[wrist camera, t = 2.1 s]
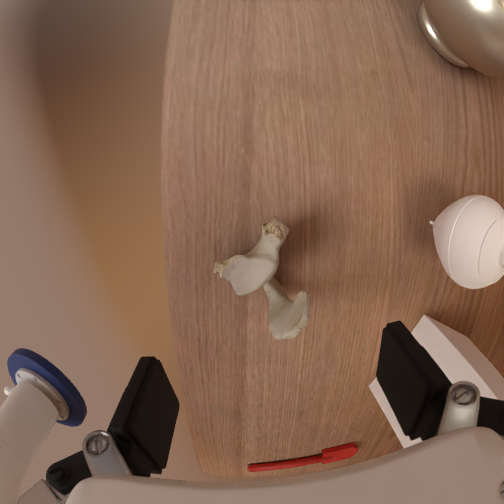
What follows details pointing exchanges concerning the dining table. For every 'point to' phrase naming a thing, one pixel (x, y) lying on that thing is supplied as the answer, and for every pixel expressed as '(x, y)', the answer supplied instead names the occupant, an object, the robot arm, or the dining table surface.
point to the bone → (268, 281)
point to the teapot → (466, 32)
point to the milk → (447, 367)
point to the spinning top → (471, 241)
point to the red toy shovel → (310, 458)
